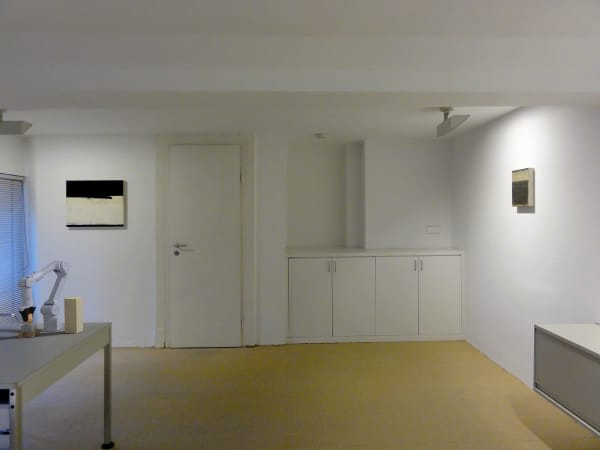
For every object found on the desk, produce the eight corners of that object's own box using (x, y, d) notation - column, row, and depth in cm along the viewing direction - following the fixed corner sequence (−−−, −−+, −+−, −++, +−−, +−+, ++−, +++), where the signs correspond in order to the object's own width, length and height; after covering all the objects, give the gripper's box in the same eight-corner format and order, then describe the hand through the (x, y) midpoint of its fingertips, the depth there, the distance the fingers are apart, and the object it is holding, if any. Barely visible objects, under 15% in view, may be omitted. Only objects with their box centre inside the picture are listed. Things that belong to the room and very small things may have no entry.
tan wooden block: (84, 330, 270) (83, 296, 269) (77, 333, 262) (75, 298, 262) (72, 330, 270) (71, 296, 270) (64, 333, 263) (63, 298, 263)
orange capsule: (34, 321, 261) (33, 313, 260) (29, 323, 256) (29, 315, 256) (26, 322, 260) (26, 313, 260) (22, 323, 256) (21, 315, 256)
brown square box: (39, 334, 263) (39, 328, 263) (33, 338, 255) (32, 332, 255) (26, 335, 263) (25, 329, 263) (18, 338, 255) (18, 332, 255)
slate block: (37, 329, 262) (36, 323, 262) (31, 331, 256) (31, 325, 256) (26, 329, 262) (26, 323, 262) (21, 332, 256) (20, 326, 256)
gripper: (26, 295, 265) (27, 318, 265) (13, 300, 250) (13, 323, 251) (38, 295, 265) (39, 317, 266) (25, 299, 251) (26, 323, 251)
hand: (27, 320), depth 258 cm, fingers closed on orange capsule, 4 cm apart
